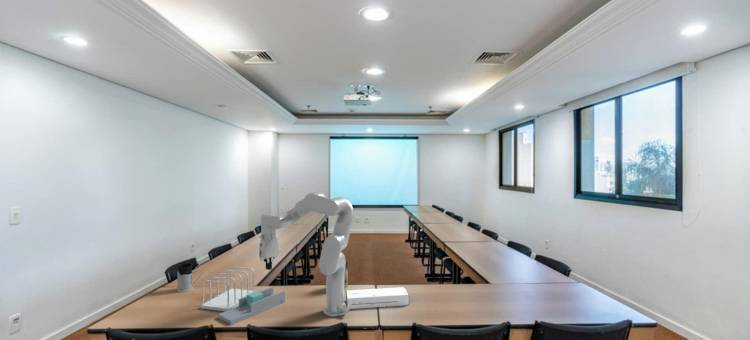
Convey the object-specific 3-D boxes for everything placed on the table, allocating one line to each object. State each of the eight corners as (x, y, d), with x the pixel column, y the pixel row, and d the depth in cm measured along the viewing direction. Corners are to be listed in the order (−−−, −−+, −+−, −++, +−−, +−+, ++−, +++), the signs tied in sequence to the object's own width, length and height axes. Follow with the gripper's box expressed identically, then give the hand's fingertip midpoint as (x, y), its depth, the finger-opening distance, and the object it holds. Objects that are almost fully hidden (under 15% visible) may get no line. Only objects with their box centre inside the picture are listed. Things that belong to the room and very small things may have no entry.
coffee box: (338, 291, 198) (338, 265, 198) (330, 289, 202) (330, 263, 202) (348, 287, 206) (348, 261, 205) (340, 284, 210) (340, 259, 209)
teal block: (263, 304, 176) (263, 293, 176) (253, 308, 171) (253, 297, 171) (256, 301, 180) (256, 291, 179) (246, 305, 175) (246, 294, 175)
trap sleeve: (285, 302, 184) (284, 291, 184) (231, 325, 158) (230, 312, 158) (271, 296, 191) (271, 286, 191) (218, 318, 165) (217, 306, 165)
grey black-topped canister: (177, 288, 205) (176, 264, 204) (203, 284, 211) (202, 261, 211) (176, 293, 197) (176, 268, 197) (203, 289, 204) (202, 265, 203)
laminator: (347, 309, 175) (346, 298, 175) (345, 300, 187) (345, 289, 187) (409, 305, 179) (409, 294, 179) (404, 296, 192) (404, 286, 191)
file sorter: (228, 312, 172) (227, 283, 171) (200, 309, 176) (199, 280, 175) (256, 293, 196) (256, 268, 196) (231, 291, 200) (230, 266, 200)
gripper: (260, 239, 173) (261, 274, 174) (283, 234, 186) (284, 267, 186) (252, 238, 178) (252, 271, 178) (275, 233, 190) (275, 264, 190)
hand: (268, 269), depth 182 cm, fingers closed
